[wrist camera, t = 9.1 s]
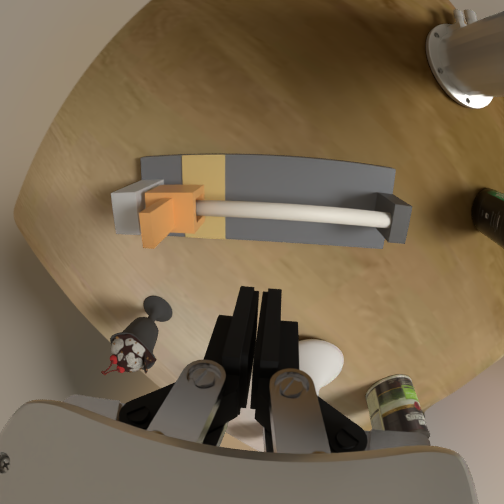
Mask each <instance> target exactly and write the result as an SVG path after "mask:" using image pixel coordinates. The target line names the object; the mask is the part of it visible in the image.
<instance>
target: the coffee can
mask: <svg viewBox="0 0 504 504" xmlns="http://www.w3.org/2000/svg"><path fill="white" fill-rule="evenodd" d="M366 400H367V404H368V409H369V414H370V419H371V425H372V429H375V430H386V431H399V432H417V433H422V434H423V435H425V436H426V437H427V438H429V437H430V433H429V431H428V429H427V425H426V422H425V419H424V416H423V413H422V410H421V407H420V404H419V401H418V398H417V396H416V393H415V390H414V387H413V384H412V380H411V378H410V377H409V376H407V375H393V376H389V377H387V378H384V379H382V380H380V381H378V382H377V383H375V384H374V385H373V386H372V387H371V388H370V389H369V390H368V391H367V393H366Z"/></svg>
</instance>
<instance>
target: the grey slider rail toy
mask: <svg viewBox="0 0 504 504" xmlns="http://www.w3.org/2000/svg"><path fill="white" fill-rule="evenodd" d="M395 170H396V169H393V168H390V167H384V166H378V165H371V164H364V163H357V162H349V161H341V160H332V159H322V158H311V157H299V156H284V155H263V154H180V155H160V156H146V157H142V158H141V176H142V180H141V181H138V182H136V183H133V184H131V185H129V186H126V187H124V188H121V189H119V190H117V191H115V192H112V193H111V199H112V207H113V215H114V223H115V229H116V234H130V235H141V227H140V218H139V213H140V212H141V211H143V210H144V209H146V204H145V192H147V191H149V190H151V189H153V188H155V187H158V186H160V185H204V197H205V200H196V216H205V222H204V223H203V224H202V225H201V226H200V228H199V229H198V230H197V231H196V233H195V234H191V233H169V234H168V235H167V236H182V237H193V238H212V239H238V240H256V241H272V242H289V243H304V244H320V245H335V246H349V247H363V248H377V249H383V245H384V240H385V239H386V240H387V241H388V242H390V243H402V244H405V241H406V236H407V231H408V227H409V222H410V216H411V211H412V206H411V205H409V204H407V203H406V202H404V201H403V200H401V199H399V198H398V197H396V196H395V195H393V186H394V179H395Z"/></svg>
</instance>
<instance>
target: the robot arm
mask: <svg viewBox="0 0 504 504" xmlns="http://www.w3.org/2000/svg"><path fill="white" fill-rule="evenodd" d="M453 12H454V16H455V19H456V22H455V24H453V25H451V24H441V25H438V26H436V27H435V28H433V29H432V30H431V31H430V32H429V34H428V36H427V39H426V54H427V58H428V62H429V65H430V67H431V70H432V72H433V74H434V76H435V78H436V80H437V81H438V83H439V84H440V86H441V87H442V88H443V89H444V91H445V92H446V93H447V94H448V95H449V96H450V97H451V98H452V99H453V100H454V101H456V102H457V103H459V104H460V105H462V106H465V107H467V108H472V109H479V108H483V107H485V106H487V105H488V104H489V103H490V102H491V100H492V98H493V97H504V11H503V12H499V13H497V14H494V15H491V16H489V17H486V18H483V19H481V20H478V21H477V17H476V14H475V12H474V11H472V10H464V14H465V19H466V22H467V25H466V24H465V23H464V18H463V14H462V11H460V10H458V9H455V10H453ZM281 292H282V290H281V289H268V292H263V295H262V303H261V310H260V317H259V324H258V331H257V317H258V300H259V291H254V287H245V286H241V287H240V291H239V295H238V298H237V302H236V306H235V310H234V313H233V316H225V315H219V316H218V318H217V321H216V324H215V327H214V330H213V333H212V336H211V339H210V342H209V345H208V348H207V351H206V354H205V357H204V360H197V361H194V362H192V363H190V364H188V365H187V366H186V367H185V368H184V370H183V371H182V373H181V375H180V376H179V378H178V379H177V381H176V382H175V383H173V384H170V385H168V386H166V387H163V388H161V389H159V390H156V391H154V392H151V393H149V394H146V395H144V396H141V397H139V398H136V399H134V400H131V401H129V402H127V403H126V404H123V403H121V402H120V401H118V400H108V399H102V398H94V397H88V396H83V395H71V396H69V397H67V398H66V399H65V400H64V401H63V402H61V401H55V400H43V399H42V400H32V401H29V402H26V403H25V404H23V405H22V406H21V407H20V408H19V409H18V410H17V411H16V412H15V413H14V414H13V415H12V417H11V418H10V419H9V421H8V422H7V423H6V425H5V426H4V428H3V429H2V431H1V433H0V504H478V499H477V494H476V489H475V485H474V482H473V478H472V475H471V473H470V470H469V467H468V465H467V464H466V462H465V460H464V459H463V457H462V456H461V455H460V454H459V453H457V452H455V451H453V450H450V449H446V448H442V447H437V446H430V441H429V440H428V438H427V437H426V436H425V435H423V434H422V433H417V432H399V431H386V430H375V429H372V430H371V431H364V430H363V429H362V428H361V427H360V426H358V425H357V424H355V423H354V422H353V421H351V420H350V419H348V418H347V417H346V416H344V415H343V414H341V413H340V412H339V411H337V410H336V409H335V408H333V407H332V406H331V405H329V404H328V403H327V402H325V401H324V400H323V399H321V398H320V397H319V396H317V394H316V390H315V386H314V382H313V380H312V378H311V377H310V376H309V375H308V374H307V373H305V372H303V371H302V370H299V338H298V322H292V321H281ZM256 333H257V338H256ZM253 359H254V361H253ZM252 366H253V375H252V391H251V407H250V409H256V410H255V419H256V420H257V421H258V422H259V423H260V424H261V425H262V426H263V440H264V452H258V451H247V450H239V449H231V448H224V447H219V446H220V444H221V441H222V439H223V436H224V434H225V432H226V429H227V427H228V422H229V421H230V420H232V419H234V418H236V417H237V415H240V409H241V408H246V405H247V399H248V392H249V386H250V379H251V372H252Z"/></svg>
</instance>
